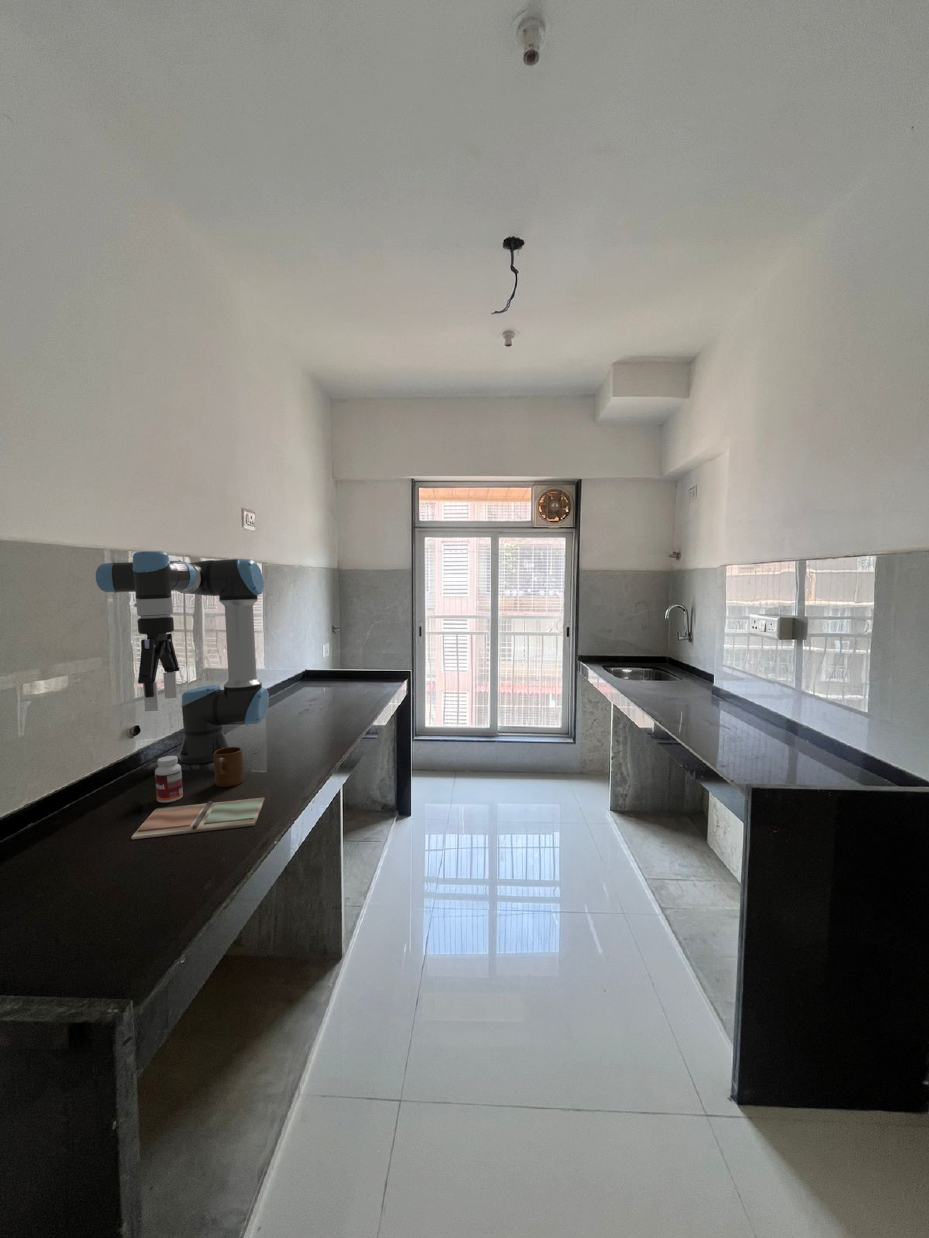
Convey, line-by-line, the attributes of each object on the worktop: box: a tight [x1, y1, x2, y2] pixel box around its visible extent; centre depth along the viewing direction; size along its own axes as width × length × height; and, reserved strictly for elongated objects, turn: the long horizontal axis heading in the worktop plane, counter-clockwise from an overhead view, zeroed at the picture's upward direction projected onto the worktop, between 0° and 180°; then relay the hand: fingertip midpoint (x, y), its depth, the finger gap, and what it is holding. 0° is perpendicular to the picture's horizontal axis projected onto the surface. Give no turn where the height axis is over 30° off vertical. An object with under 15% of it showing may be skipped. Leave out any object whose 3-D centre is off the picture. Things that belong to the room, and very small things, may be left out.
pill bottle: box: [154, 755, 184, 804], centre depth 147 cm, size 6×6×11 cm
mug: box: [213, 746, 245, 788], centre depth 156 cm, size 12×8×9 cm, turn 3°
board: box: [131, 797, 265, 840], centre depth 134 cm, size 16×26×1 cm, turn 102°
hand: (162, 704), depth 134 cm, fingers open, 13 cm apart
